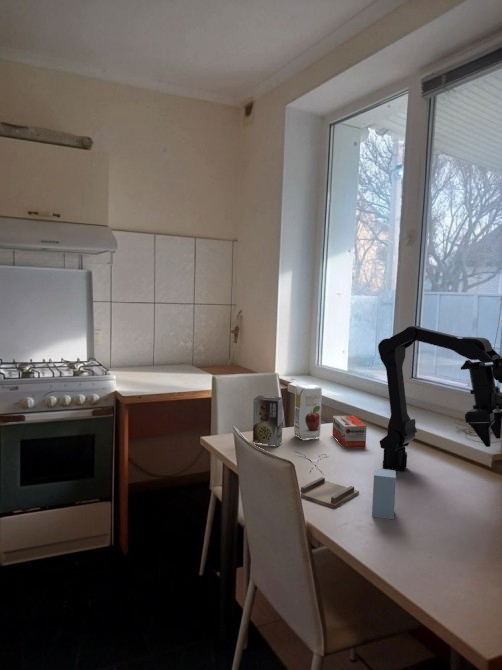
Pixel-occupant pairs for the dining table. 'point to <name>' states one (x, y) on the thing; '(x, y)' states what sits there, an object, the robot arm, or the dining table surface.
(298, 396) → the juice carton
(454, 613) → the dining table surface
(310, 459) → the scissors
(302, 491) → the walnut groove board
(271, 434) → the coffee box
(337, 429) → the medicine box
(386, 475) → the slate-blue block
